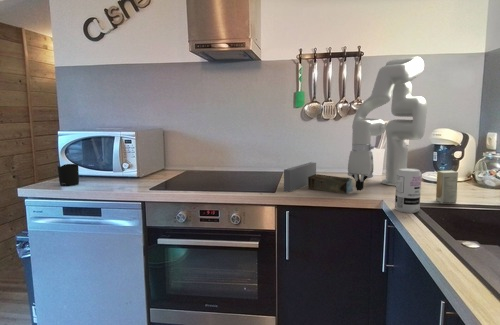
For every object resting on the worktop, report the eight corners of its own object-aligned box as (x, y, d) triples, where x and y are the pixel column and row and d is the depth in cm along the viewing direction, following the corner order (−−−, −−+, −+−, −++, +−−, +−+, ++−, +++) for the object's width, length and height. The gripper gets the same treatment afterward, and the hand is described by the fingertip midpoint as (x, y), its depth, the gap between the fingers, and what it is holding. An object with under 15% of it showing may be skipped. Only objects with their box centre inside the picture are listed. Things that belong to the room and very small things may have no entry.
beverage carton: (346, 194, 158) (347, 179, 157) (307, 189, 169) (307, 175, 168) (353, 191, 164) (353, 177, 163) (314, 186, 175) (314, 173, 174)
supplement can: (398, 206, 137) (400, 167, 135) (422, 209, 132) (424, 169, 130) (391, 210, 131) (393, 170, 129) (415, 214, 126) (418, 172, 124)
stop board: (315, 182, 185) (316, 162, 183) (289, 192, 162) (289, 170, 161) (310, 181, 187) (310, 162, 185) (283, 191, 164) (283, 169, 162)
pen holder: (57, 184, 184) (55, 165, 182) (77, 182, 190) (75, 163, 188) (61, 187, 177) (59, 167, 175) (81, 184, 182) (80, 165, 181)
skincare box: (450, 200, 146) (452, 170, 144) (456, 202, 142) (459, 172, 140) (434, 200, 146) (436, 170, 144) (440, 203, 141) (442, 172, 140)
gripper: (381, 148, 154) (379, 190, 157) (347, 146, 163) (345, 186, 165) (376, 149, 148) (374, 193, 151) (341, 148, 156) (339, 189, 159)
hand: (359, 189), depth 158 cm, fingers closed
